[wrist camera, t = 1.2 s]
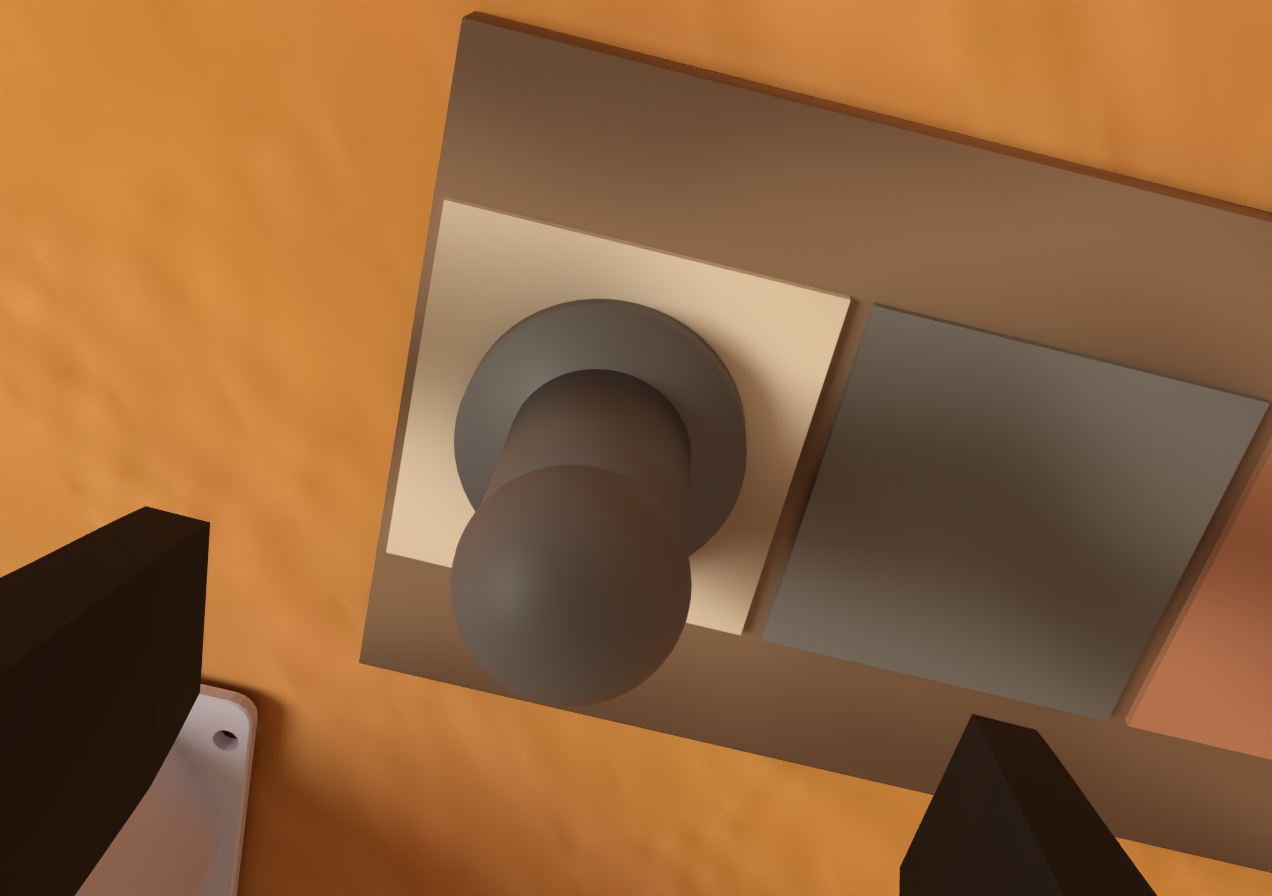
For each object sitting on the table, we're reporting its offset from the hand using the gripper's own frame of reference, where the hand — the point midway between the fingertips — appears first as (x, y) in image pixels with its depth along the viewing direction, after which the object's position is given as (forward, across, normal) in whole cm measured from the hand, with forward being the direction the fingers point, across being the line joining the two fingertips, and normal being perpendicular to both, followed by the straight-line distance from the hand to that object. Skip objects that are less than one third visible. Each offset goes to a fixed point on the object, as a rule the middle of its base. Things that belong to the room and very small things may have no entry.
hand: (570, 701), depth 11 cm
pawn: (+9, 0, +2) cm, 9 cm away
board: (+11, -10, +2) cm, 15 cm away
